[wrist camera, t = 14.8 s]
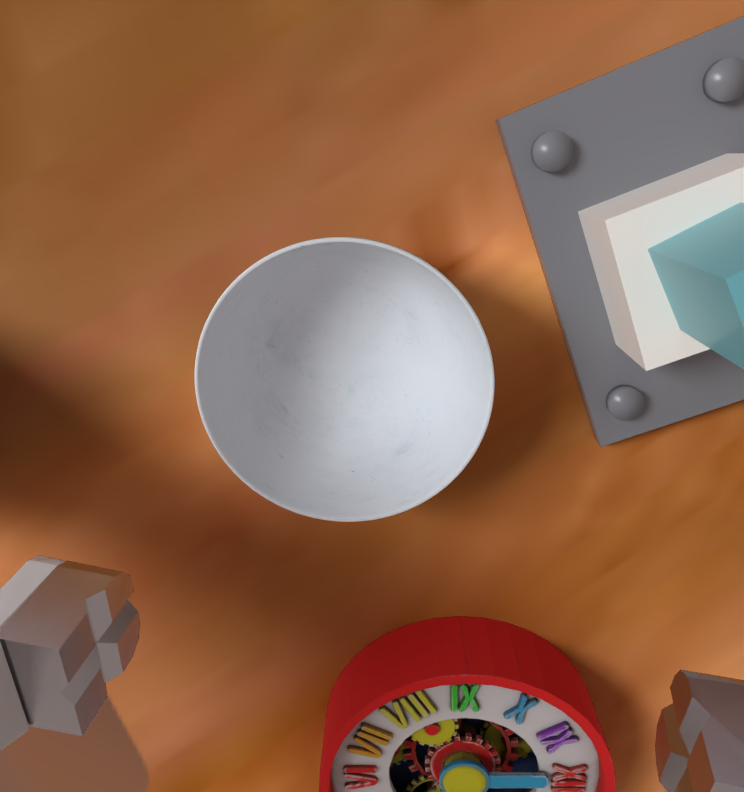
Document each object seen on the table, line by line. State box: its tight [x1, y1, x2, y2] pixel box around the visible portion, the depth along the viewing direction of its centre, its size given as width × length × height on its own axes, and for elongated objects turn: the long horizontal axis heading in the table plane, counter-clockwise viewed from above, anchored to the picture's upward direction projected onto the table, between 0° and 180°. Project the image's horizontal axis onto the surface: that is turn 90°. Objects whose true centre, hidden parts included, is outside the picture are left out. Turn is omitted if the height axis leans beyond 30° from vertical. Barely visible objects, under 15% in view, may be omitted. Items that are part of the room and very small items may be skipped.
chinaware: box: [195, 237, 495, 522], centre depth 37 cm, size 15×15×8 cm
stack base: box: [496, 16, 744, 447], centre depth 35 cm, size 13×20×6 cm, turn 22°
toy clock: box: [319, 616, 615, 792], centre depth 48 cm, size 20×6×20 cm
